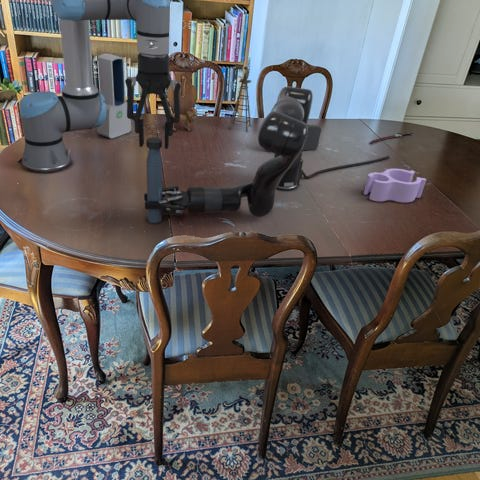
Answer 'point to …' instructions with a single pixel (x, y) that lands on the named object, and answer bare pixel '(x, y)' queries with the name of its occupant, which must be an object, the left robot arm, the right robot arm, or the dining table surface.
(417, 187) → the clip
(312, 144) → the handheld gaming console
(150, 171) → the bottle
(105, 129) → the electronic device
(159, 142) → the cap
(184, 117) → the lion figurine
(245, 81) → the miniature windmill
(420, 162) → the dining table surface
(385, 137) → the sword
